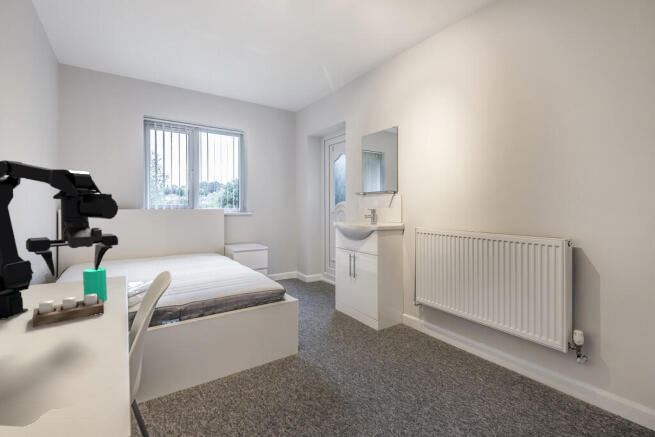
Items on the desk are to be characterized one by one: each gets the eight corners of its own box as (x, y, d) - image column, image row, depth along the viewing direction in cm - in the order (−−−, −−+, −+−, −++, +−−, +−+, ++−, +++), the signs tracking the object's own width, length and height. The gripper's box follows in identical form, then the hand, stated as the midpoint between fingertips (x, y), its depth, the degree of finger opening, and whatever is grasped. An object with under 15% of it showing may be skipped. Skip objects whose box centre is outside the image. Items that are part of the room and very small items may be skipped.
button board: (33, 327, 78) (32, 317, 78) (34, 317, 84) (33, 308, 84) (104, 313, 89) (103, 304, 88) (100, 305, 94) (100, 297, 94)
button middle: (63, 312, 84) (62, 301, 84) (62, 309, 86) (62, 298, 86) (76, 309, 86) (76, 299, 86) (76, 306, 88) (75, 296, 88)
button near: (39, 316, 81) (38, 305, 81) (39, 313, 83) (39, 302, 83) (54, 314, 83) (53, 302, 83) (54, 310, 85) (53, 299, 85)
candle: (94, 305, 94) (93, 267, 94) (79, 303, 96) (77, 266, 95) (111, 298, 100) (110, 263, 99) (96, 297, 102) (95, 262, 101)
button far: (84, 308, 87) (84, 297, 87) (84, 305, 90) (83, 294, 89) (97, 306, 89) (97, 295, 89) (96, 303, 92) (96, 292, 91)
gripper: (31, 220, 69) (32, 286, 71) (124, 218, 84) (124, 273, 85) (24, 216, 76) (26, 276, 78) (112, 214, 91) (112, 265, 92)
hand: (75, 272), depth 83 cm, fingers open, 9 cm apart
